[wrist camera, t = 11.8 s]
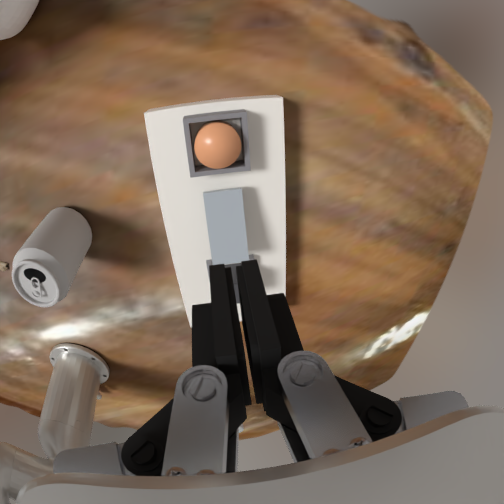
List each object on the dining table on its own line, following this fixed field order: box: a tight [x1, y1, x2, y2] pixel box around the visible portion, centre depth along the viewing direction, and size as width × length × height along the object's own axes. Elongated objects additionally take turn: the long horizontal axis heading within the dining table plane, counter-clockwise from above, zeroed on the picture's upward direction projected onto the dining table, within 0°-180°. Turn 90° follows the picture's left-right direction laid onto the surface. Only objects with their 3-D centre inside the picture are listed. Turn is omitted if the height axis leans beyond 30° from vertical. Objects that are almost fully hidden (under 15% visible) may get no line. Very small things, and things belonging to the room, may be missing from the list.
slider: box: [225, 263, 241, 304], centre depth 38 cm, size 3×4×4 cm
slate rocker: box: [203, 187, 249, 265], centre depth 33 cm, size 8×4×1 cm, turn 3°
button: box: [194, 120, 241, 169], centre depth 29 cm, size 4×4×2 cm
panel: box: [144, 95, 286, 327], centre depth 37 cm, size 30×14×5 cm, turn 3°
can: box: [12, 207, 92, 307], centre depth 31 cm, size 8×8×12 cm
